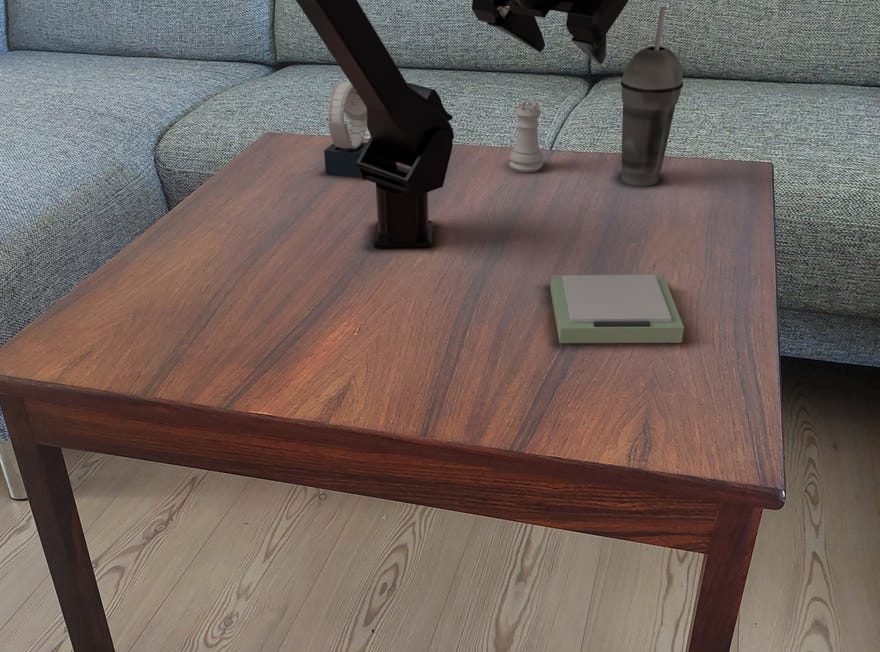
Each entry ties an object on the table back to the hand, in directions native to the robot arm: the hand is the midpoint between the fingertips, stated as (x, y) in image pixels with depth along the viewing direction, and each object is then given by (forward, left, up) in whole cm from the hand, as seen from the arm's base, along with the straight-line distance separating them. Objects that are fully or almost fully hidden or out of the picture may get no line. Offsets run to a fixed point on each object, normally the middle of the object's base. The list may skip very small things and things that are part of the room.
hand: (571, 54), depth 111 cm
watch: (+2, +28, -14) cm, 31 cm away
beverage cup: (-3, -9, -14) cm, 17 cm away
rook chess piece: (+2, +5, -14) cm, 15 cm away
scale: (-39, -1, -14) cm, 41 cm away
